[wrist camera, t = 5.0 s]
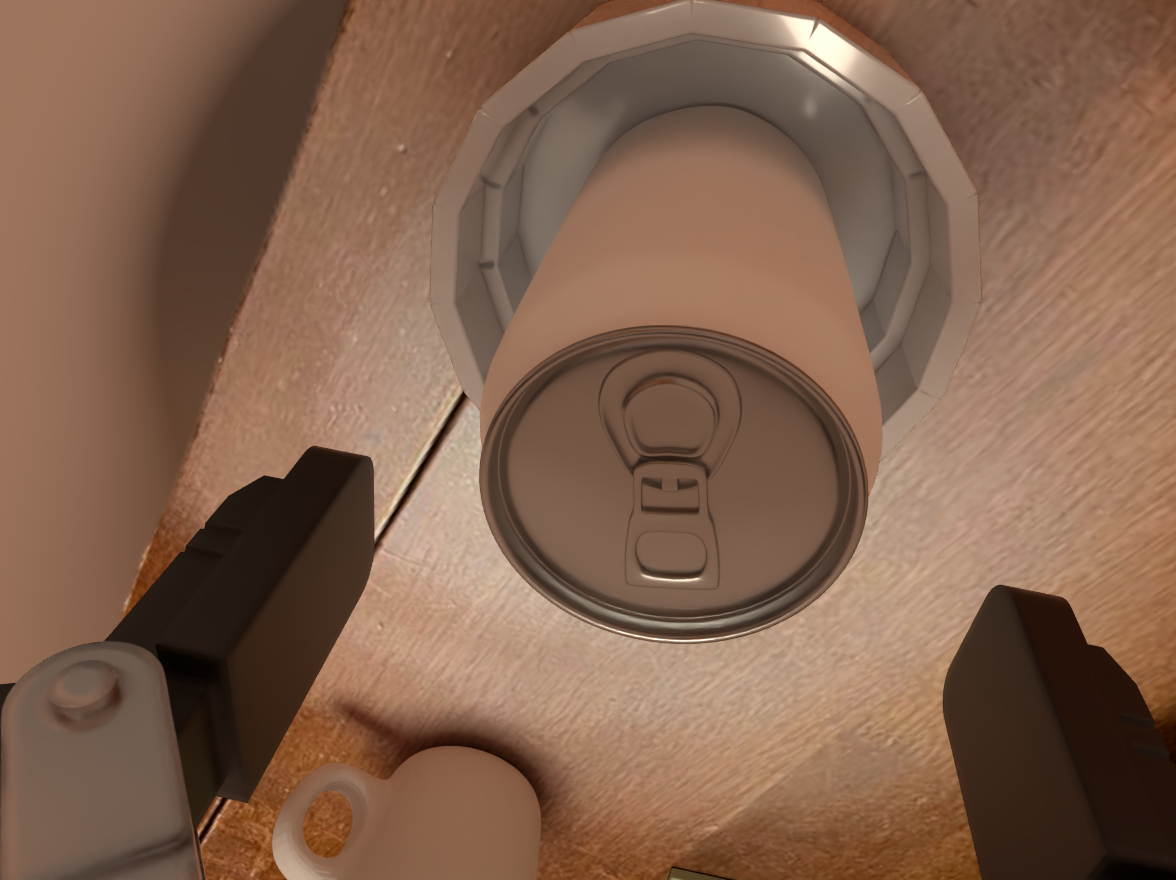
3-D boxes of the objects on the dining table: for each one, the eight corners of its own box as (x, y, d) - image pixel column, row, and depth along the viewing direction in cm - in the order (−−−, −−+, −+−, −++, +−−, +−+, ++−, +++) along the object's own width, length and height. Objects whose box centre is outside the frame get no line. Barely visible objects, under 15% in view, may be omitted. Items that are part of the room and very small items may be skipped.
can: (839, 95, 20) (933, 295, 10) (819, 345, 24) (875, 677, 14) (568, 105, 21) (414, 297, 11) (586, 343, 25) (480, 651, 15)
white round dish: (473, 377, 26) (423, 469, 22) (502, -59, 20) (439, -45, 16) (854, 450, 26) (876, 559, 22) (1010, 23, 19) (1083, 60, 15)
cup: (293, 746, 38) (196, 931, 31) (382, 655, 34) (292, 844, 27) (495, 862, 40) (445, 1057, 33) (599, 790, 36) (567, 995, 29)
